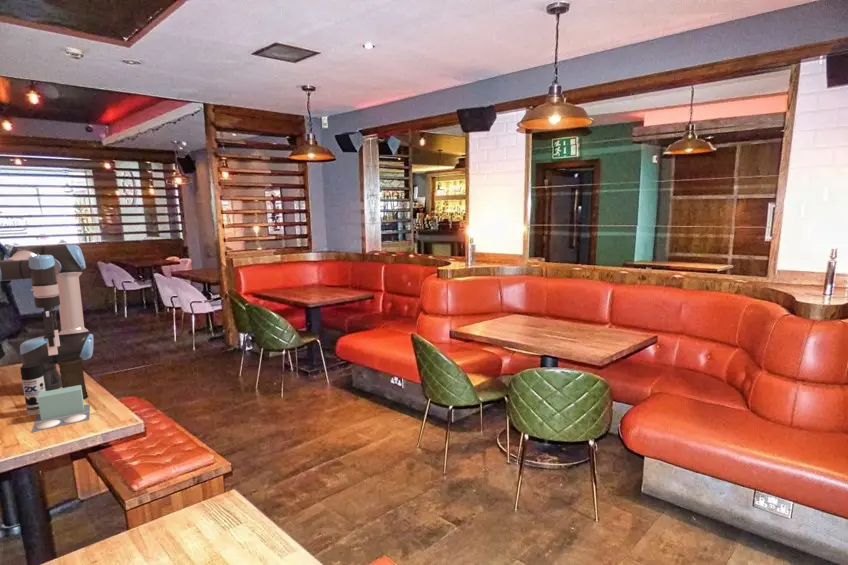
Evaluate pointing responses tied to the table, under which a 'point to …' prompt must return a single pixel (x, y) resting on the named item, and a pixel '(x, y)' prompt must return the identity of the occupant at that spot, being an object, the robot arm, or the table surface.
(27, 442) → the table surface
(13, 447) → the table surface
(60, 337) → the robot arm
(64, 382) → the container
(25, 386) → the spray can
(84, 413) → the slate board
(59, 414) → the pale green block
